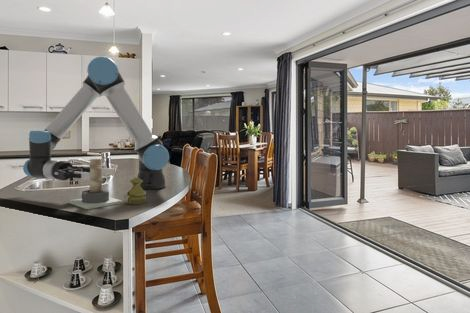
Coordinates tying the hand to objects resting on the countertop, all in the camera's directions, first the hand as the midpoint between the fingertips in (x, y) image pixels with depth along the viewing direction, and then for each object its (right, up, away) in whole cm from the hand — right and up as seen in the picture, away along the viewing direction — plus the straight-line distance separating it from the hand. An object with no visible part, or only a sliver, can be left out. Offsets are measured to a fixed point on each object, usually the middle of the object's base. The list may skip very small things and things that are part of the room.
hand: (102, 174), depth 121 cm
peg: (-4, -10, +2) cm, 11 cm away
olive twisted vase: (+11, -12, +5) cm, 17 cm away
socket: (-4, -11, +2) cm, 12 cm away
